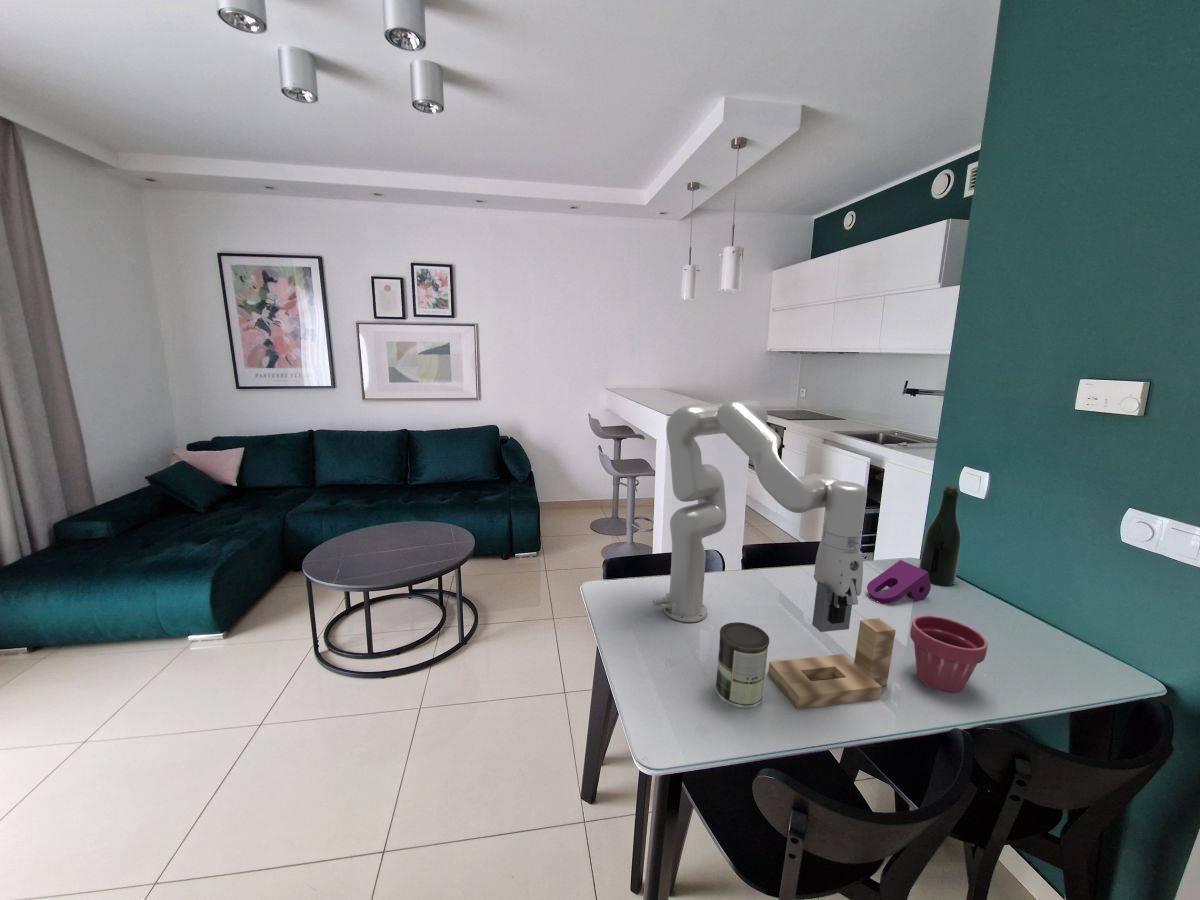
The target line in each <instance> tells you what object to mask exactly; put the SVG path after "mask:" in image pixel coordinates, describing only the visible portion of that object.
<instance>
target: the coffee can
mask: <svg viewBox="0 0 1200 900" xmlns="http://www.w3.org/2000/svg"><path fill="white" fill-rule="evenodd" d="M718 645H719V646H718V656H717V667H716V668H717V670H716V679H715V681H716V682H715V686H714V687H715V692H716V694H717V695H718V697H719V698H720V699H721V700H722V701H723V702H725V703H727V704H728V705H729V706H732V707H736V708H740V709H752V708H755V707H758V706H759V705H760V704H762V702H763V699H764V689H765V688H764V687H765V679H766V678H765V677H766V669H767V668H766V667H767V660H768V659H767V658H768V650H769V645H770V637H769V635H768V634H767V632H765V630H763V629H762V628H760V627H758V626H756V625H753V624H750V623H745V622H735V621H734V622H728V623H724V625H722V626H721V627H720V629H719V644H718Z"/></svg>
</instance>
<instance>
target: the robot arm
mask: <svg viewBox="0 0 1200 900" xmlns="http://www.w3.org/2000/svg"><path fill="white" fill-rule="evenodd" d="M768 418H769V416H768V412H767V409H766V408H765V406H764V405H763V404H762V403H761V402H759V401H757V400H755V399H742V400H741V399H740V400H731V401H727V402H720V403H703V404H689V405H684V406H682V407H679V408H678V409H676V410H674V412H673V413H671V415H670V416H669V417H668V420H667V423H666V429H665V430H666V439H667V440H666V441H667V444H668V450H669V455H670V457H669V459H670V470H671V484H672V485H671V486H672V490H673V491H672V493H673V495H674V497H675V498H676V499H677V500H678V501H680V502H685V503H687V502H695V501H697V503H696V504H695V503H694V504H691V505H686V506H683V507H680V508H679V509H677V510H676V511H675V512H673V514H672V515H671V517H670V521H669V529H670V536H671V563H670V565H671V566H670V577H669V578H670V580H669V591H668V593H666V595H665V597H663V598H653V599H652V606H653V607H656V606H657V607H659V609H660V610H662V611H663V612H664V614H665V615H666V616H667V617H669V618H671V619H673V620H675V621H678V622H681V623H695V622H696V623H697V622H700V621H703V620H704V619H706V617H707V616H708V609H707V607H706V605H705V604H704V603H703V600H704V599H703V598H704V587H705V585H704V584H705V571H706V560H707V559H706V558H707V555H706V549H705V546H704V544H703V538H706V537H710V536H712V535H714V534H717V533H719V532H721V531H722V530H724V528H725V526H726V522H727V503H726V489H725V481H724V477H723V476H722V473H721V471H720V470H719V469H718V468H717V467H716V466H714V465H712V464H707V463H703V461H702V460H703V459H702V452H701V448H700V445H699V443H698V442H697V440H696V439H695V438H696V437H701V436H702V437H703V436H710V435H717V434H718V435H719V434H725V435H726V436H728V438H729V439H730V440H731V441H732V442H733V443H734V444H736V446H737V447H738V448H739V449H740V450H741V451H742V452H743V453H744V454H745V455H746V456H747V457H748V458H749V459H750V460H751V461H752V462H753V467H754V471H755V474H756V477H757V478H758V481H759V483H760V484H761V486H762V487H763V489H764V490H765V491H766V492H767V493H768V494H769V495H770V496H771V497H772V498H773V499H774V500H775V501H776V502H777V503H778V504H779V505H780V506H781V507H783V508H784V509H786V510H787V511H789V512H791V513H793V514H794V513H796V514H804V513H807V512H810V511H812V510H816V509H821V508H822V509H823V508H824V516H823V523H822V532H821V539H820V542H819V544H818V549H817V553H816V555H815V557H816V558H815V562H814V563H815V564H814V571H813V573H814V574H813V579H814V580H815V582H816V583H823V584H825V585H826V586H828V587H829V588H831V591H833V592H834V606H831V614H830V623H832V624H836V623H843V622H844V618H845V611H846V607H848V606H849V605H852V606H854V605H858V604H859V598H858V596H860V595H861V594H862V588H863V587H862V586H863V577H864V560H863V559H864V558H863V552H862V551H861V548H862V543H861V542H862V536H863V535H862V534H863V528H864V519H865V512H866V505H867V499H868V498H867V497H868V490H867V488H866V487H865V486H864V485H862V484H860V483H856V482H853V481H844V480H839V479H836V478H833V477H831V476H829V475H826V474H823V473H810V474H807V475H802V476H797V475H796V474H795V473H793V472H792V471H791V470H790V469H789V467H787V466H786V465H785V464H784V462H783V461H782V459H781V458H780V456H779V454H778V453H779V451H778V450H779V448H780V446H781V444H782V439H781V436H780V435H779V434H778V433H777V432H776V431H775V430H774V429H773V428H771V427H770V426H769V425H768V424H767V422H768ZM840 597H843V599H842V600H840Z"/></svg>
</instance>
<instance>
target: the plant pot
mask: <svg viewBox="0 0 1200 900" xmlns="http://www.w3.org/2000/svg"><path fill="white" fill-rule="evenodd" d="M909 634H910V635H909V636H910V639H911V640H912V642H913V645H914V646H913V647H914V656H915V668H916V675H917V677H918V678H919V680H920V681H921V682H922V683H924V684H925V685H927V686H928V687H931V688H932V689H935V690H937V691H940V692H943V693H948V694H958V693H961V692H962V691H964V688H965V687H966V685H967V683H968V682H969V680H970V678H971V676H972V675H973V673H974V671H975V669H976V668H977V665H978V664H980V663H982V662H983V661H985V658H986V656H987V651H988V646H989V645H988V641H987V638H985V637H984V636H983V635H982V634H981V633H980V632H978V630H975V629H974V628H972V627H970V626H968V625H966V624H964V623H961V622H959V621H956V620H954V619H950V618H946V617H943V616H936V615H919V616H916V617H914V618H913V619H912V622H911V625H910V632H909Z"/></svg>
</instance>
